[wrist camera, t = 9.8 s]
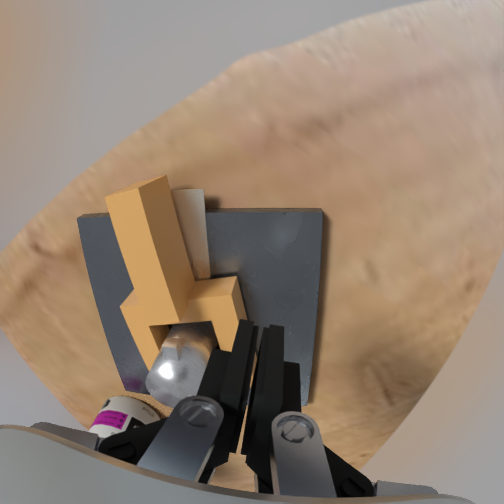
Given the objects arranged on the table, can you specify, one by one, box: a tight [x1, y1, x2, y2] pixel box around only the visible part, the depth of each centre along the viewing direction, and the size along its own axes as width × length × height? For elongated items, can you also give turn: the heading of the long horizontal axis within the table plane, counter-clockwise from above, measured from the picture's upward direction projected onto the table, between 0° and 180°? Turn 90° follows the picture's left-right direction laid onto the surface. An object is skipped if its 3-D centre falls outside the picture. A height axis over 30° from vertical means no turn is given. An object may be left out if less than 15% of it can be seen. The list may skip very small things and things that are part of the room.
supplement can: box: [89, 396, 161, 438], centre depth 28 cm, size 8×8×15 cm
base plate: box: [77, 189, 323, 408], centre depth 23 cm, size 22×20×9 cm
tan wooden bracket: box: [105, 175, 257, 388], centre depth 23 cm, size 9×18×5 cm, turn 11°
